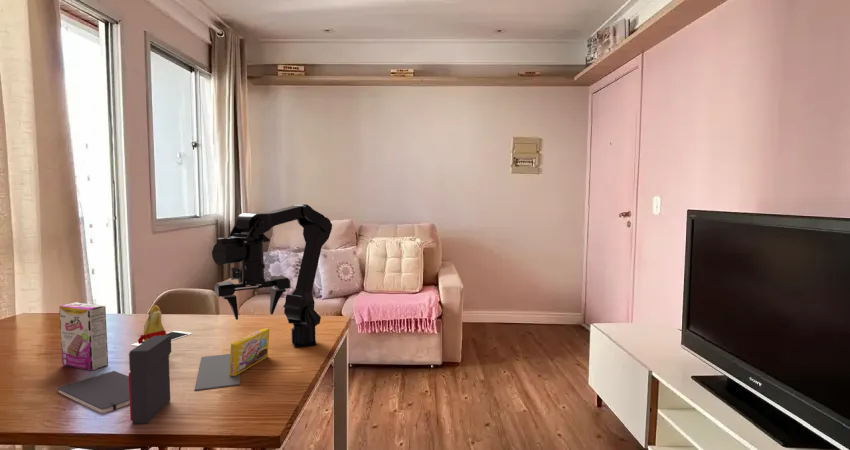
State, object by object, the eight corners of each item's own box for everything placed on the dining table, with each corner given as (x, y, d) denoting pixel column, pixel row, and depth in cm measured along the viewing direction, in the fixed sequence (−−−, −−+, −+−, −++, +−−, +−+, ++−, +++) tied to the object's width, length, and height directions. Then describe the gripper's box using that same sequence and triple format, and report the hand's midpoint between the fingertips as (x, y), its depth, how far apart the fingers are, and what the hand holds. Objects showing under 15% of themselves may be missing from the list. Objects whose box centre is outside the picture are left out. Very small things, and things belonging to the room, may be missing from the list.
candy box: (236, 377, 123) (236, 344, 123) (228, 376, 124) (228, 343, 123) (269, 357, 139) (269, 327, 139) (262, 356, 139) (262, 327, 139)
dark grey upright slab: (153, 401, 110) (150, 335, 109) (173, 400, 110) (171, 334, 109) (128, 424, 99) (124, 351, 98) (150, 424, 99) (147, 351, 98)
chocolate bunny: (159, 351, 144) (158, 300, 143) (173, 360, 136) (171, 306, 135) (133, 356, 139) (131, 304, 138) (145, 366, 131) (143, 311, 130)
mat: (239, 353, 142) (239, 352, 142) (240, 384, 119) (240, 383, 119) (201, 357, 138) (201, 356, 138) (194, 390, 116) (194, 389, 116)
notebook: (161, 395, 115) (114, 376, 126) (161, 388, 114) (113, 370, 126) (102, 416, 104) (56, 394, 115) (102, 409, 104) (55, 387, 115)
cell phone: (130, 346, 149) (130, 344, 149) (175, 332, 164) (175, 330, 164) (148, 349, 146) (148, 347, 146) (192, 334, 161) (192, 333, 161)
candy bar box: (60, 366, 131) (57, 305, 130) (79, 360, 136) (76, 301, 135) (91, 371, 128) (88, 309, 126) (109, 365, 132) (106, 304, 131)
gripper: (278, 253, 145) (279, 306, 146) (209, 259, 135) (212, 315, 136) (290, 258, 136) (291, 314, 137) (217, 264, 126) (220, 325, 127)
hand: (254, 316), depth 134 cm, fingers open, 9 cm apart
